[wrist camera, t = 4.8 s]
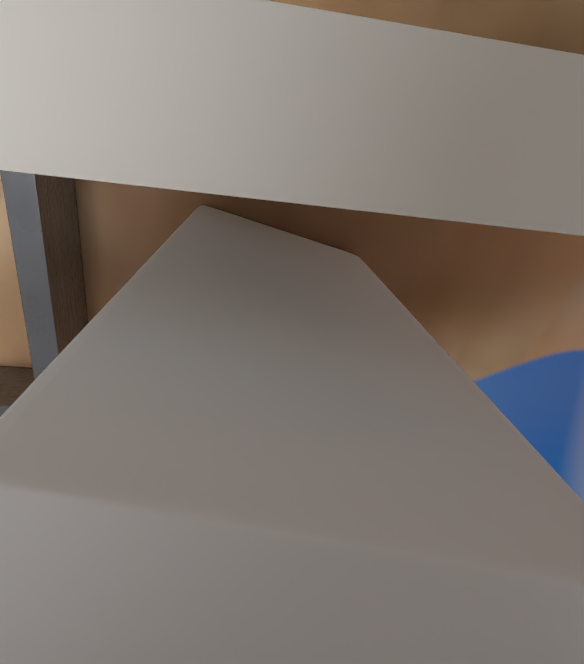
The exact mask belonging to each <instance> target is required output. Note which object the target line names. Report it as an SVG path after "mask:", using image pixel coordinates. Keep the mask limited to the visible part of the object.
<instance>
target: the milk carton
mask: <svg viewBox="0 0 584 664" xmlns="http://www.w3.org/2000/svg"><path fill="white" fill-rule="evenodd" d="M0 664H584V502H583V501H582V500H581V499H580V498H579V497H578V496H577V495H576V493H575V492H574V491H573V490H572V489H571V488H570V487H569V486H568V485H567V484H566V482H565V481H564V480H563V479H562V478H561V477H560V476H559V475H558V474H557V473H556V472H555V470H554V469H553V468H552V467H551V466H550V465H549V464H548V463H547V462H546V461H545V460H544V458H543V457H542V456H541V455H540V454H539V453H538V452H537V451H536V450H535V449H534V448H533V446H532V445H531V444H530V443H529V442H528V441H527V440H526V439H525V438H524V437H523V435H521V433H520V432H519V431H518V430H517V429H516V428H515V427H514V426H513V424H512V423H511V422H510V421H509V420H508V419H507V418H506V417H505V416H504V415H503V414H502V412H501V411H500V410H498V408H497V407H496V406H495V405H494V404H493V403H492V401H490V399H489V398H488V397H487V396H486V395H485V394H484V393H483V392H482V391H481V389H480V388H479V387H478V386H477V385H476V384H475V383H474V382H473V381H472V380H471V379H470V377H469V376H468V375H467V374H466V373H465V372H464V371H463V370H462V369H461V368H460V366H459V365H458V364H457V363H456V362H455V361H454V360H453V359H452V358H451V357H450V356H449V354H448V353H447V352H446V351H445V350H444V349H443V348H442V347H441V346H440V345H439V343H438V342H437V341H436V340H435V339H434V338H433V337H432V336H431V335H430V334H429V333H428V331H427V330H426V329H425V328H424V327H423V326H422V325H421V324H420V323H419V322H418V321H417V319H416V318H415V317H414V316H413V315H412V314H411V313H410V312H409V311H408V310H407V308H406V307H405V306H404V305H403V304H402V303H401V302H400V301H399V300H398V299H397V298H396V296H395V295H394V294H393V293H392V292H391V291H390V290H389V289H388V288H387V287H386V286H385V284H384V283H383V282H382V281H381V280H380V279H379V278H378V277H377V276H376V275H375V273H374V272H373V271H372V270H371V269H370V268H369V267H368V266H367V265H366V264H365V263H364V261H363V260H362V259H361V258H360V257H358V256H356V255H354V254H351V253H349V252H346V251H343V250H340V249H337V248H334V247H331V246H328V245H325V244H322V243H319V242H316V241H313V240H310V239H307V238H303V237H300V236H297V235H294V234H291V233H288V232H285V231H282V230H279V229H276V228H273V227H270V226H267V225H264V224H261V223H258V222H255V221H252V220H249V219H246V218H243V217H240V216H237V215H234V214H231V213H228V212H225V211H222V210H218V209H215V208H212V207H209V206H205V205H200V206H198V207H197V208H196V209H195V210H194V211H193V212H192V214H191V215H190V216H189V217H188V218H187V219H186V220H185V221H184V222H183V223H182V224H181V225H180V226H179V227H178V228H177V229H176V231H175V232H174V233H173V234H172V235H171V236H170V237H169V238H168V239H167V240H166V241H165V242H164V243H163V244H162V245H161V246H160V248H159V249H158V250H157V251H156V252H155V253H154V254H153V255H152V256H151V257H150V258H149V259H148V260H147V261H146V262H145V263H144V265H143V266H142V267H141V268H140V269H139V270H138V271H137V272H136V273H135V274H134V275H133V276H132V277H131V278H130V279H129V281H128V282H127V283H126V284H125V285H124V286H123V287H122V288H121V289H120V290H119V291H118V292H117V293H116V294H115V295H114V296H113V298H112V299H111V300H110V301H109V302H108V303H107V304H106V305H105V306H104V307H103V308H102V309H101V310H100V311H99V312H98V313H97V315H96V316H95V317H94V318H93V319H92V320H91V321H90V322H89V323H88V324H87V325H86V326H85V327H84V328H83V329H82V330H81V332H80V333H79V334H78V335H77V336H76V337H75V338H74V339H73V340H72V341H71V342H70V343H69V344H68V345H67V346H66V347H65V349H64V350H63V351H62V352H61V353H60V354H59V355H58V356H57V357H56V358H55V359H54V360H53V361H52V362H51V363H50V365H49V366H48V367H47V368H46V369H45V370H44V371H43V372H42V373H41V374H40V375H39V376H38V377H37V378H36V379H35V380H34V382H33V383H32V384H31V385H30V386H29V387H28V388H27V389H26V390H25V391H24V392H23V393H22V394H21V395H20V396H19V397H18V399H17V400H16V401H15V402H14V403H13V404H12V405H11V406H10V407H9V408H8V409H7V410H6V411H5V412H4V413H3V414H2V416H1V417H0Z"/></svg>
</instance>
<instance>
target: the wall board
mask: <svg viewBox="0 0 584 664" xmlns="http://www.w3.org/2000/svg"><path fill="white" fill-rule="evenodd" d="M0 170H4V171H13V172H22V173H31V174H40V175H48V176H57V177H66V178H75V179H84V180H93V181H102V182H110V183H119V184H128V185H137V186H146V187H155V188H164V189H173V190H181V191H190V192H199V193H208V194H217V195H226V196H235V197H244V198H252V199H261V200H270V201H279V202H288V203H297V204H306V205H315V206H323V207H332V208H341V209H350V210H359V211H368V212H377V213H386V214H394V215H403V216H412V217H421V218H430V219H439V220H448V221H457V222H465V223H474V224H483V225H492V226H501V227H510V228H519V229H528V230H536V231H545V232H554V233H563V234H572V235H581V236H584V55H582V54H576V53H570V52H564V51H558V50H553V49H547V48H541V47H535V46H529V45H524V44H518V43H512V42H506V41H500V40H495V39H489V38H483V37H477V36H471V35H466V34H460V33H454V32H448V31H442V30H437V29H431V28H425V27H419V26H413V25H408V24H402V23H396V22H390V21H384V20H379V19H373V18H367V17H361V16H355V15H350V14H344V13H338V12H332V11H326V10H321V9H315V8H309V7H303V6H297V5H292V4H286V3H280V2H274V1H268V0H0Z"/></svg>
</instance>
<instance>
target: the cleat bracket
mask: <svg viewBox="0 0 584 664" xmlns="http://www.w3.org/2000/svg"><path fill="white" fill-rule="evenodd" d="M0 172H1V178H2V184H3V190H4V196H5V202H6V208H7V214H8V221H9V227H10V233H11V239H12V245H13V251H14V257H15V263H16V269H17V275H18V281H19V288H20V294H21V300H22V306H23V312H24V318H25V324H26V330H27V336H28V342H29V349H30V355H31V361H32V367H33V368H20V367H3V366H0V417H1V416H2V414H3V413H4V412H5V411H6V410H7V409H8V408H9V407H10V406H11V405H12V404H13V403H14V402H15V401H16V400H17V399H18V397H19V396H20V395H21V394H22V393H23V392H24V391H25V390H26V389H27V388H28V387H29V386H30V385H31V384H32V383H33V382H34V380H35V379H36V378H37V377H38V376H39V375H40V374H41V373H42V372H43V371H44V370H45V369H46V368H47V367H48V366H49V365H50V363H51V362H52V361H53V360H54V359H55V358H56V357H57V356H58V355H59V354H60V353H61V352H62V351H63V350H64V349H65V347H66V346H67V345H68V344H69V343H70V342H71V341H72V340H73V339H74V338H75V337H76V336H77V335H78V334H79V333H80V332H81V330H82V329H83V328H84V327H85V326H86V325H87V324H88V319H87V309H86V298H85V288H84V277H83V267H82V256H81V246H80V236H79V225H78V215H77V204H76V194H75V183H74V178H66V177H57V176H48V175H40V174H31V173H22V172H13V171H4V170H0Z"/></svg>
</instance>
